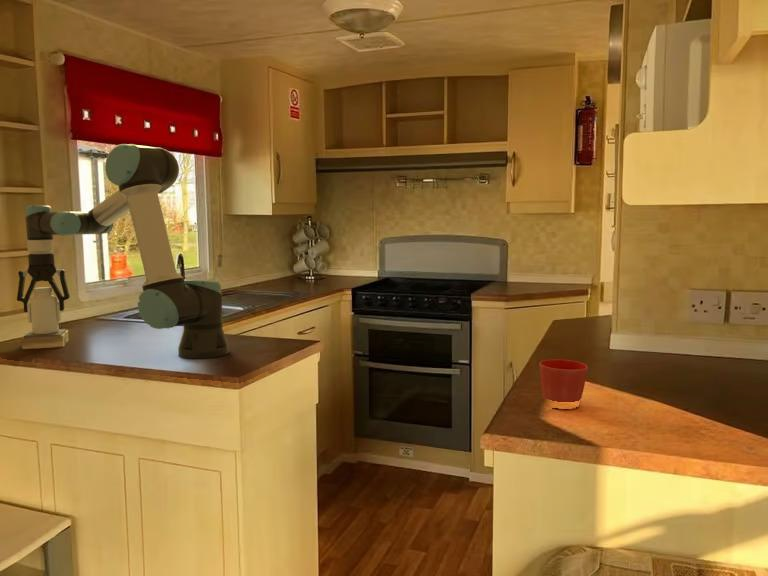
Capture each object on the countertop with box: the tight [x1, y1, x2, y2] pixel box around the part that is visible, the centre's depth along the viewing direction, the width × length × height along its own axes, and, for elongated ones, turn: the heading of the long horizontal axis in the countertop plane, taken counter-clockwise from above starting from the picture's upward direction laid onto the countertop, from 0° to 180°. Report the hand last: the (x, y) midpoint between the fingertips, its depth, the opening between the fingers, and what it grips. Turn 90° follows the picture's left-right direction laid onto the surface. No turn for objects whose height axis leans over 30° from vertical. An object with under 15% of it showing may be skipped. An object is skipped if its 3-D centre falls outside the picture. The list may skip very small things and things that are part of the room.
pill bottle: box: [29, 286, 60, 334], centre depth 216 cm, size 8×8×15 cm
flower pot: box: [538, 358, 589, 411], centre depth 149 cm, size 11×11×10 cm
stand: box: [21, 328, 70, 350], centre depth 217 cm, size 12×12×4 cm
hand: (45, 321), depth 216 cm, fingers open, 8 cm apart
